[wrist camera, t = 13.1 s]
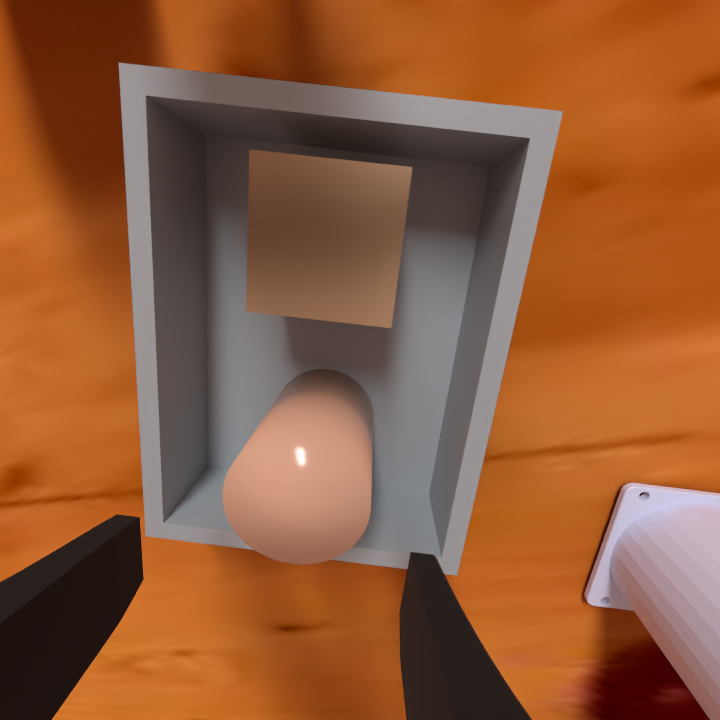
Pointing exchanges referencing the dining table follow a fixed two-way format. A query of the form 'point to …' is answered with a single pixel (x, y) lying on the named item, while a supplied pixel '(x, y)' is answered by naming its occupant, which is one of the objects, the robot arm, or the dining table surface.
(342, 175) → the walnut cube
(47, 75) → the dining table surface
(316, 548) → the peach capsule
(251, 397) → the tote
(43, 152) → the dining table surface
